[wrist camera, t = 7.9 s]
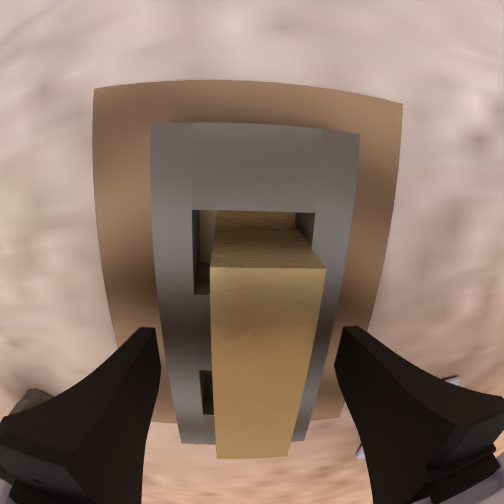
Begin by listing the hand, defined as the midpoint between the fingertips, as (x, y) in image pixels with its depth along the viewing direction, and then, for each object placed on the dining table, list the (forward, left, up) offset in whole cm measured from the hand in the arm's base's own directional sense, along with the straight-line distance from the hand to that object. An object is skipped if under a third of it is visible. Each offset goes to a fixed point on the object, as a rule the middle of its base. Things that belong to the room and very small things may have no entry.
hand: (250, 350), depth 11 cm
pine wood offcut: (0, 0, -4) cm, 4 cm away
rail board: (0, 0, -5) cm, 5 cm away
